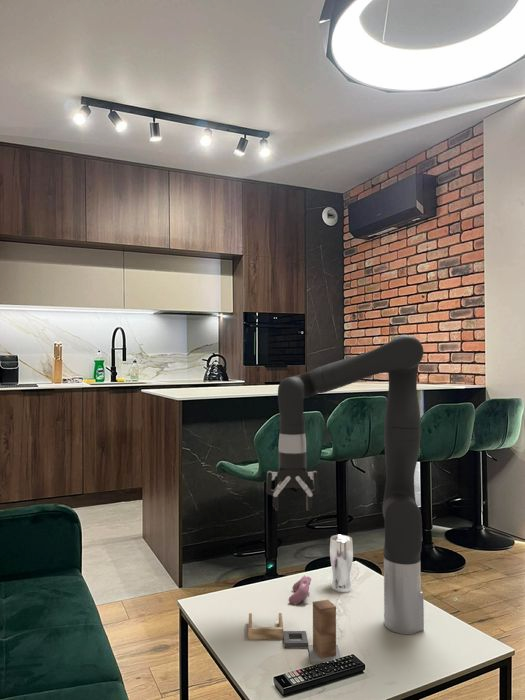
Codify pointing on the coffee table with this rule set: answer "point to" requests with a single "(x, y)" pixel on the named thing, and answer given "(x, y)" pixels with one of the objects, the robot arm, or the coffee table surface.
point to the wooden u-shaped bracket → (265, 630)
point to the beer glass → (341, 562)
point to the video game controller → (300, 590)
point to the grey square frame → (295, 643)
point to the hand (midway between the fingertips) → (292, 510)
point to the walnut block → (324, 628)
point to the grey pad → (317, 660)
